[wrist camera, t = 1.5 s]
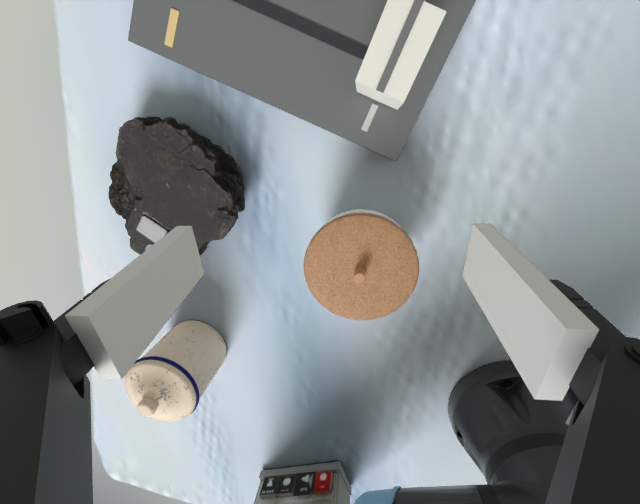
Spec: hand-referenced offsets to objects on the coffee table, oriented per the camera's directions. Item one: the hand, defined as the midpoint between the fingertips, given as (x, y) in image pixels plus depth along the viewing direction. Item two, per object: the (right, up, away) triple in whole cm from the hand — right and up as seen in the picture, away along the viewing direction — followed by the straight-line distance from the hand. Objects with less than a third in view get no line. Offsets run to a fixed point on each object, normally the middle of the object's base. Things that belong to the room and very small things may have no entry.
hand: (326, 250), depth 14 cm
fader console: (-3, +21, +15) cm, 26 cm away
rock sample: (-16, +7, +22) cm, 28 cm away
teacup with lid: (-18, -15, +30) cm, 38 cm away
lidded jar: (+5, +1, +21) cm, 22 cm away
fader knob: (+6, +16, +12) cm, 21 cm away
